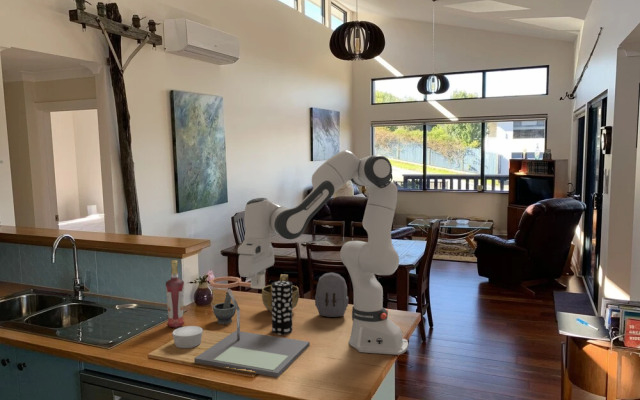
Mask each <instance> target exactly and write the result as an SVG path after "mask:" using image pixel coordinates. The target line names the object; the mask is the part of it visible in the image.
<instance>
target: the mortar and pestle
mask: <svg viewBox="0 0 640 400" xmlns="http://www.w3.org/2000/svg"><path fill="white" fill-rule="evenodd" d="M232 294H233V292H232ZM233 295H234V294H233ZM212 312H213V314H214V316H215V318H216V319H217V321H216V322H217V323H218V324H220V325H228V324H230V323H232V322H233V319H232V318H233V317H234V316H235V315H236V313H237V310H236V307H235V305H234V303H233V302H232V299H231V297H230V295H229V293H228V291H226V292H225V298H224V302H219V303H216V304H214V305H213V306H212Z"/></svg>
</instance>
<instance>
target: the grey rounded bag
mask: <svg viewBox="0 0 640 400" xmlns="http://www.w3.org/2000/svg"><path fill="white" fill-rule="evenodd" d="M315 293H316V294H315V296H314V301H315V304H314V305H315V307H316V308H317V309H316V310H317V311H318V315H320V316H324V317H329V318H333V317H334V318H339V317H343V316H345V313H346V310H347V307H348V306H349V296H348V287H347V283H346V279H345V278H344V277H343V276H341V274H339V273H336V272H326V273H323V274H322V275H321V276H320V277H319V278H318V282H317V285H316V292H315Z"/></svg>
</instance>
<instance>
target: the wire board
mask: <svg viewBox="0 0 640 400" xmlns="http://www.w3.org/2000/svg"><path fill="white" fill-rule="evenodd" d="M310 345H311V344H310V341H307V340H301V339H294V338H288V337H281V336H273V335H267V334H261V333H254V332H247V331H241V330H240V340H239V341H238V340H237V330H235V331H233V332H231V333H230V334H229V335H227V336H226V337H224V338H222V339H220V341H218V342H216V343H215V344H214V345H212V346H210V347H209V348H207V349H206V350H204V351H203V352H202V353H200V354H199V355H197V356H196V357H194V363H195V364H196V363H197V364H201V365H209V366H212V365H213V366H214V367H218V366H219V367H218V368H223V367H229V368H236V369H246V370H252V371H255V372H256V373H255V374H256V375H262V376H269V377H274V378H279V377H280V376H281V375H283V373H284V372H285V371H286V370H287V369H288V368H289V367H290V366H291V365H292V364H293V363H294V362H295V361H296V360H297V359H298V358H299V357H300V356H301V355H302V354H303V353H304V352H305V351H306V350H307V349H308V347H310ZM213 366H212V367H213ZM229 368H228V369H229Z"/></svg>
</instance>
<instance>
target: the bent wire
mask: <svg viewBox="0 0 640 400" xmlns="http://www.w3.org/2000/svg"><path fill="white" fill-rule="evenodd" d="M227 292H228V293H229V295H230V297H231V302H232V303H233V304H234V305H235V307H236V331H237V340H238V341H239V340H240V331H241V308H240V307H239V304H238V302H237V300H236V297H235V296H234V294H232V293H233V291H232V289H231V288H227Z"/></svg>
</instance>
